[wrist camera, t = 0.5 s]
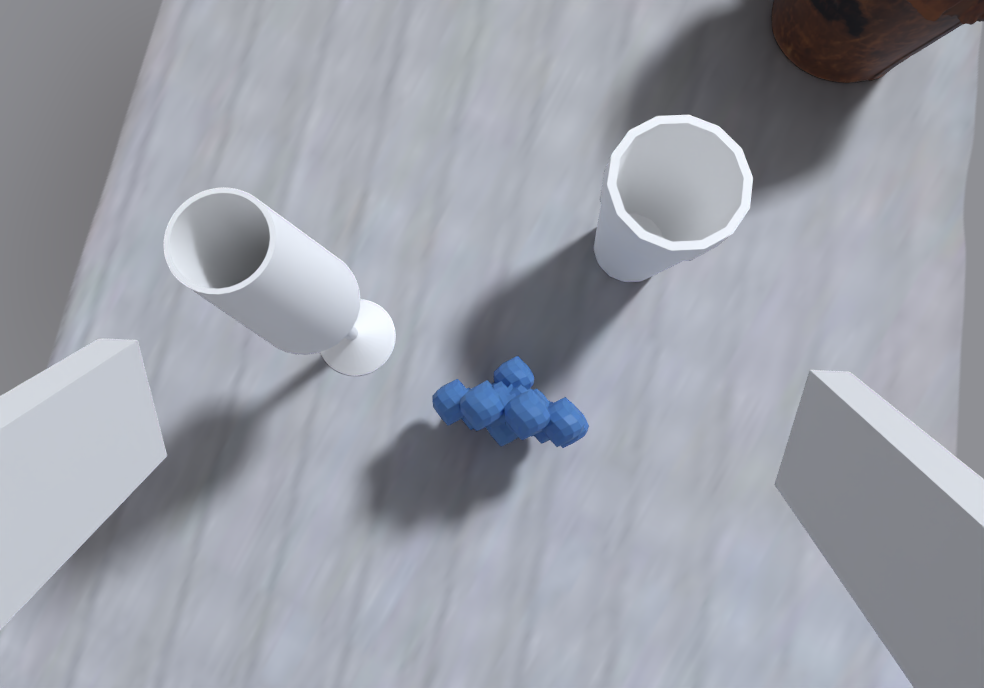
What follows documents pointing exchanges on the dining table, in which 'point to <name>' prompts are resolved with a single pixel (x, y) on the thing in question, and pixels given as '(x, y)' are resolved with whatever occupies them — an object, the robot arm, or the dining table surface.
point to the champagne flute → (276, 281)
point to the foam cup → (669, 196)
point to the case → (864, 33)
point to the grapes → (511, 408)
